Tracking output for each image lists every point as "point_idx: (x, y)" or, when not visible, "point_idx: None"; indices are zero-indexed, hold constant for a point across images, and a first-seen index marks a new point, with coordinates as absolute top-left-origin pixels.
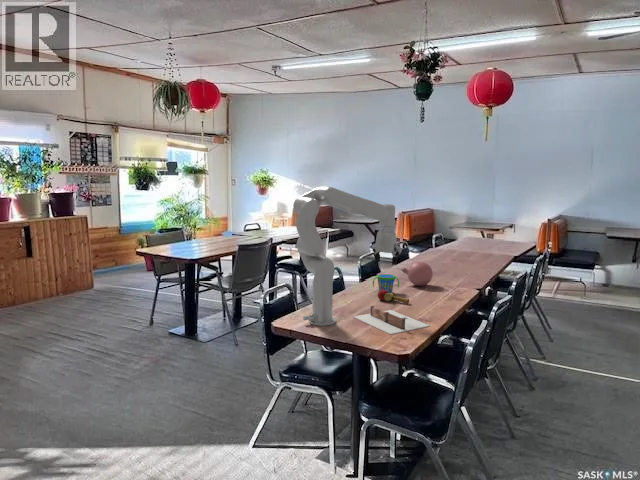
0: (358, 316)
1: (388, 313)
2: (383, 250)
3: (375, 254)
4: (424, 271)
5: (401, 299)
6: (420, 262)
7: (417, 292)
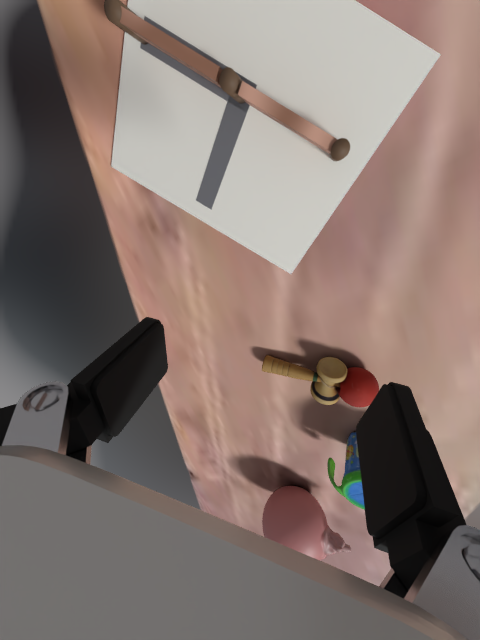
0: (406, 81)
1: (220, 79)
2: (163, 584)
3: (466, 527)
4: (274, 523)
5: (284, 365)
6: None
7: (283, 449)
